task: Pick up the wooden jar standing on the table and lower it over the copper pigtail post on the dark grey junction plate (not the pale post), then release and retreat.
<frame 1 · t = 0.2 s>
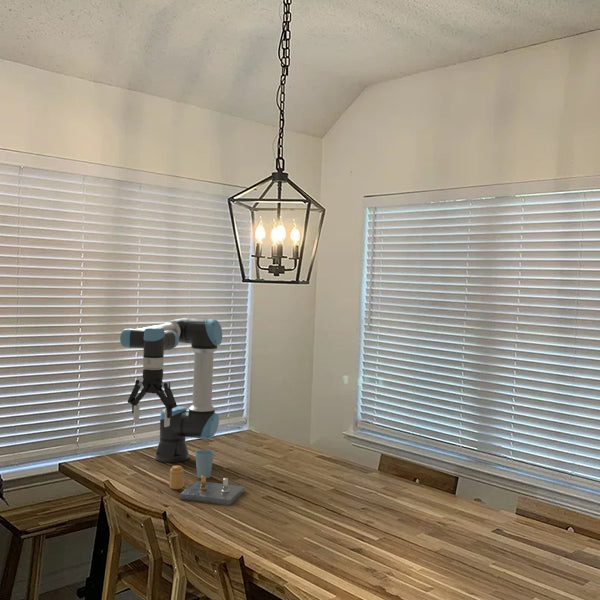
hand: (151, 424, 237), 27 cm above the table, fingers open, 13 cm apart
cup: (203, 477, 263), on the table
wooden jar: (176, 486, 249), on the table
junction plate: (212, 495, 241), on the table
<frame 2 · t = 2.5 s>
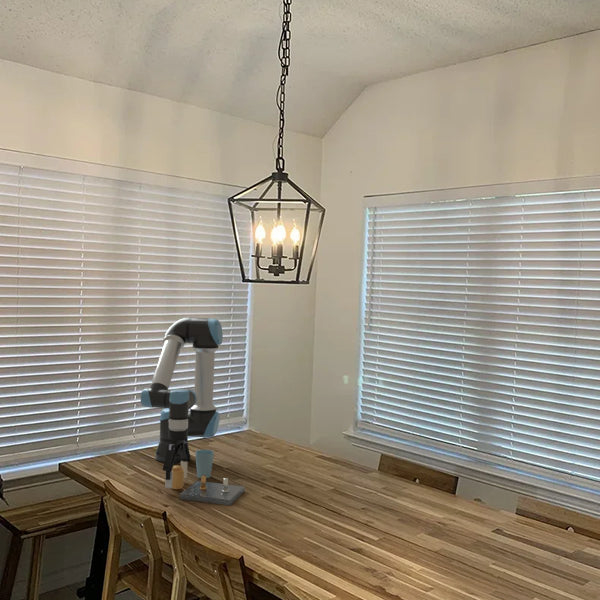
hand: (176, 482, 248), 2 cm above the table, fingers open, 13 cm apart
nothing on the table moved.
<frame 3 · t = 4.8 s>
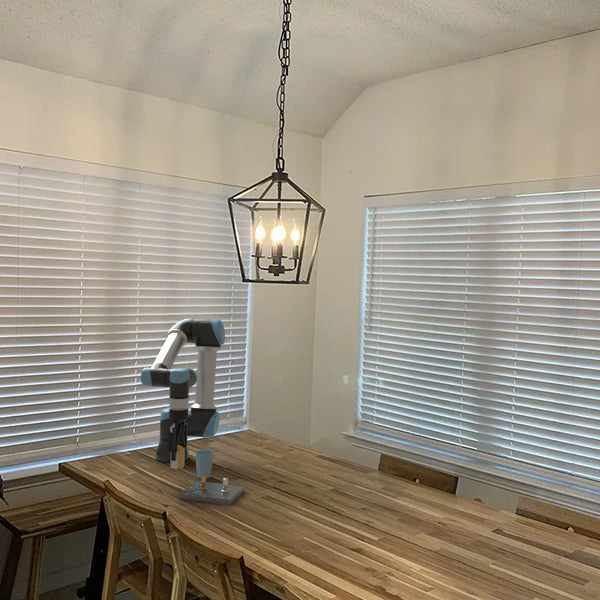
hand: (177, 465, 249), 8 cm above the table, fingers closed on wooden jar, 5 cm apart
wooden jar: (177, 466, 249), point 8 cm above the table, touching gripper
everything else where it was.
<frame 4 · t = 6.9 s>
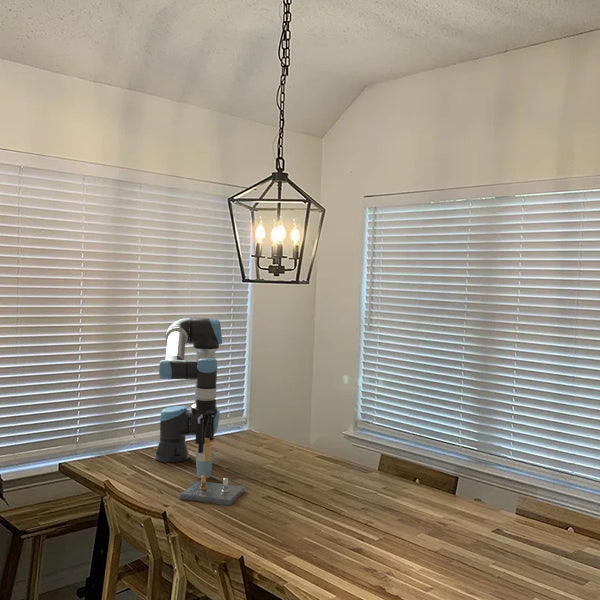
hand: (204, 458, 241), 14 cm above the table, fingers closed on wooden jar, 5 cm apart
wooden jar: (204, 459, 241), point 13 cm above the table, touching gripper
everything else where it was.
when the fingers open (3 cm above the table, at t = 9.4 s): wooden jar stays where it is, resting on junction plate.
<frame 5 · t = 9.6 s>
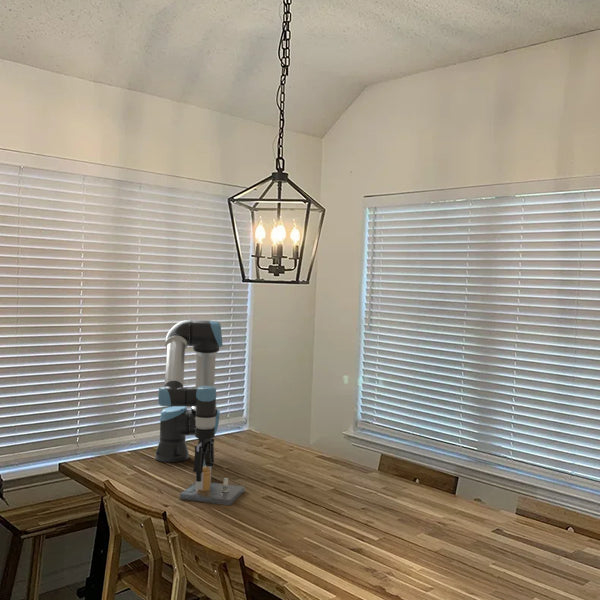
hand: (203, 485, 241), 3 cm above the table, fingers open, 7 cm apart
wooden jar: (203, 488, 242), point 2 cm above the table, touching junction plate
everything else where it was.
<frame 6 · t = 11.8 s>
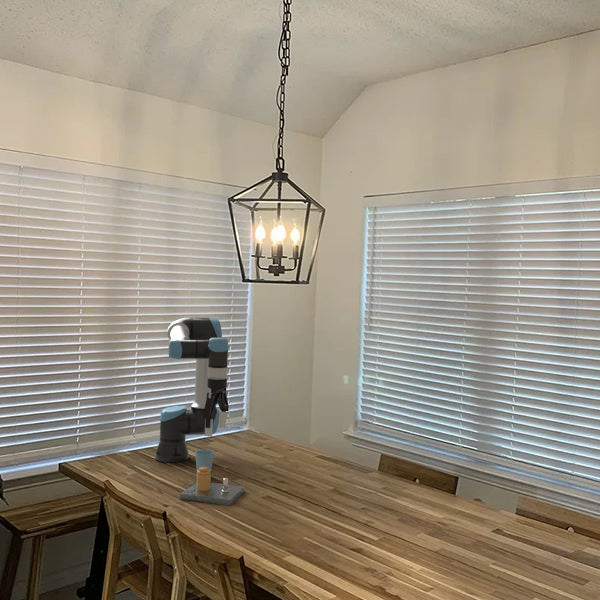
hand: (215, 431, 245), 23 cm above the table, fingers open, 13 cm apart
nothing on the table moved.
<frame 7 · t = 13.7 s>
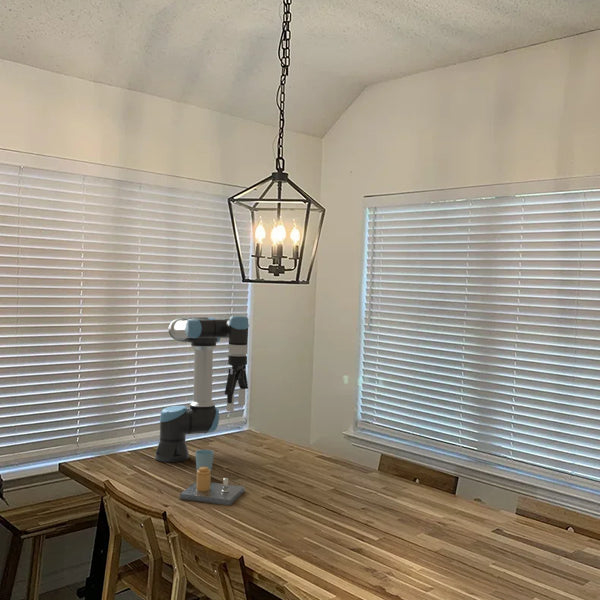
hand: (236, 408, 250), 32 cm above the table, fingers open, 13 cm apart
nothing on the table moved.
at the end: wooden jar 0.0 cm from the target spot on the junction plate, point 2.0 cm above the junction plate's base; wooden jar tilted 0°; the gripper is holding nothing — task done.
